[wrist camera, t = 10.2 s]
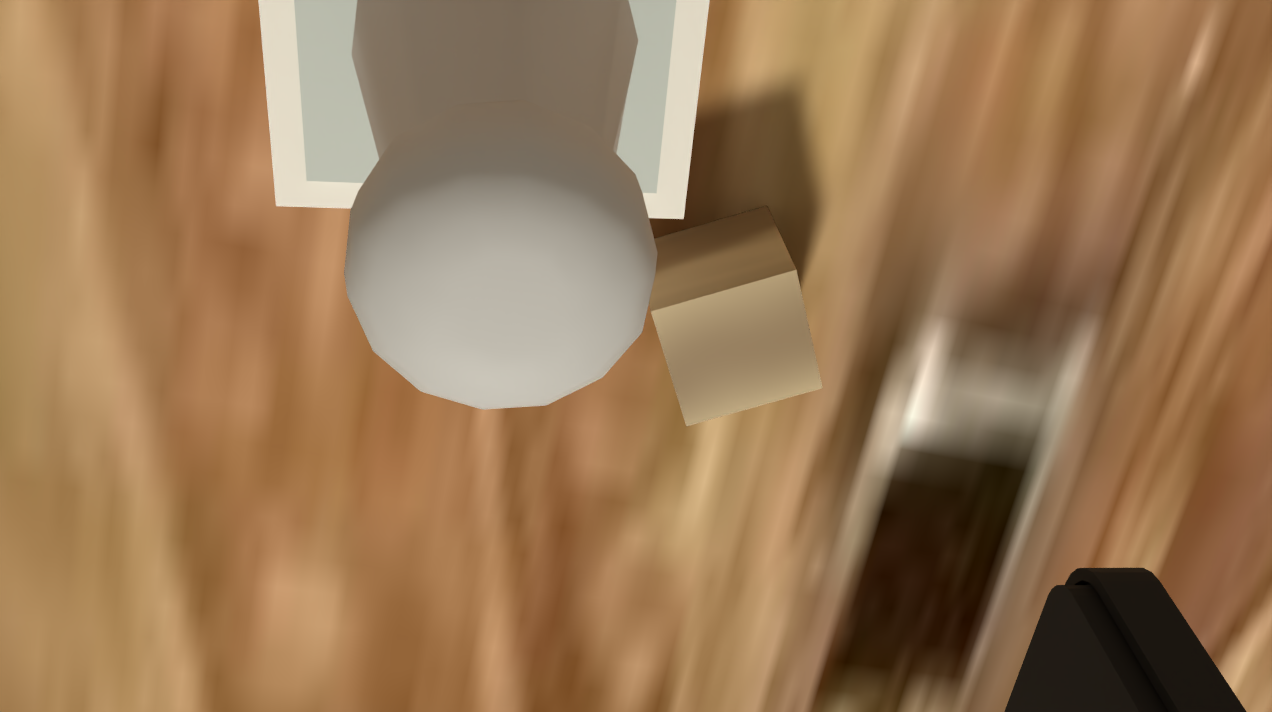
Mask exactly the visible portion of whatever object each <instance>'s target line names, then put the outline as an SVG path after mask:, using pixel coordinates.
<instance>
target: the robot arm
mask: <svg viewBox="0 0 1272 712" xmlns="http://www.w3.org/2000/svg"><path fill="white" fill-rule="evenodd" d="M1005 712H1246V710H1245V709H1244V707H1243V706H1242V704H1241V703H1240V701H1239V700H1238V698H1237V697H1236V695H1235V694H1234V692H1233V691H1232V689H1231V688H1230V686H1229V685H1228V683H1227V682H1226V680H1225V679H1224V677H1223V676H1222V674H1221V673H1220V671H1219V670H1218V668H1217V667H1216V665H1215V664H1214V662H1213V661H1212V659H1211V658H1210V656H1209V655H1208V653H1207V652H1206V650H1205V649H1204V647H1203V646H1202V644H1201V643H1200V641H1199V640H1198V638H1197V637H1196V635H1195V634H1194V632H1193V631H1192V629H1191V628H1190V626H1189V625H1188V623H1187V622H1186V620H1185V619H1184V617H1183V616H1182V614H1181V613H1180V611H1179V610H1178V608H1177V607H1176V605H1175V604H1174V602H1173V601H1172V599H1171V598H1170V596H1169V595H1168V593H1167V591H1166V590H1165V588H1164V587H1163V585H1162V584H1161V582H1160V581H1159V580H1158V579H1157V578H1156V577H1155V575H1154V574H1153V573H1152V572H1150V571H1148V570H1146V569H1144V568H1078V569H1076V570H1075V571H1074V572H1072V573H1071V574H1070V576H1069V578H1068V580H1067V582H1066V584H1065V585H1056V586H1055V587H1054V588H1053V589H1052V590H1051V591H1050V593H1049V595H1048V597H1047V600H1046V603H1045V605H1044V608H1043V611H1042V613H1041V616H1040V619H1039V621H1038V624H1037V627H1036V629H1035V632H1034V635H1033V637H1032V640H1031V643H1030V645H1029V648H1028V651H1027V653H1026V656H1025V659H1024V661H1023V664H1022V667H1021V669H1020V672H1019V675H1018V677H1017V680H1016V682H1015V685H1014V688H1013V690H1012V693H1011V696H1010V698H1009V701H1008V704H1007V706H1006V709H1005Z"/></svg>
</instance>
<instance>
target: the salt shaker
mask: <svg viewBox="0 0 1272 712" xmlns="http://www.w3.org/2000/svg"><path fill="white" fill-rule="evenodd" d="M637 45H638V37H637V33H636V29H635V25H634V21H633V17H632V12H631V8H630V4H629V0H357V8H356V17H355V26H354V35H353V45H352V54H351V55H352V59H353V63H354V66H355V70H356V74H357V78H358V81H359V85H360V89H361V93H362V96H363V100H364V104H365V108H366V111H367V115H368V119H369V123H370V126H371V130H372V134H373V138H374V141H375V145H376V149H377V153H378V156H379V161H378V162H377V164H376V165H375V167H374V168H373V170H372V171H371V173H370V174H369V176H368V177H367V179H366V180H365V182H364V183H363V185H362V186H361V188H360V189H359V191H358V193H357V195H356V198H355V200H354V203H353V205H352V208H351V211H350V221H349V230H348V240H347V250H346V260H345V270H344V275H345V282H346V288H347V295H348V298H349V300H350V302H351V304H352V306H353V308H354V311H355V313H356V315H357V317H358V319H359V321H360V323H361V326H362V328H363V330H364V332H365V334H366V336H367V339H368V341H369V343H370V345H371V347H372V349H373V351H374V352H375V353H376V354H377V355H378V356H380V357H381V358H382V359H383V360H384V361H386V362H387V363H388V364H389V365H390V366H391V367H393V368H394V369H395V370H396V371H397V372H399V373H400V374H401V375H402V376H403V377H404V378H406V379H407V380H408V381H409V382H410V383H411V384H413V385H414V386H415V387H416V388H417V389H419V390H420V391H421V392H424V393H428V394H431V395H435V396H438V397H442V398H445V399H448V400H452V401H455V402H459V403H462V404H466V405H469V406H472V407H476V408H479V409H497V408H512V407H528V406H543V405H548V404H550V403H552V402H554V401H556V400H558V399H560V398H562V397H564V396H566V395H568V394H570V393H572V392H574V391H576V390H578V389H580V388H582V387H584V386H586V385H589V384H591V383H593V382H595V381H597V380H599V379H601V378H602V377H603V376H604V375H605V374H606V373H607V372H608V371H609V369H610V368H611V367H612V366H613V365H614V364H615V363H616V362H617V360H618V359H619V358H620V357H621V356H622V355H623V354H624V352H625V351H626V350H627V349H628V348H629V347H630V346H631V344H632V343H633V342H634V341H635V340H636V339H637V338H638V336H639V335H640V334H641V333H642V330H643V326H644V321H645V317H646V313H647V308H648V304H649V300H650V295H651V291H652V287H653V282H654V278H655V272H656V262H657V253H658V252H657V248H656V244H655V241H654V237H653V233H652V229H651V225H650V221H649V217H648V213H647V209H646V205H645V201H644V197H643V193H642V190H641V188H640V185H639V182H638V180H637V177H636V174H635V173H634V172H633V171H632V170H631V169H630V168H629V167H628V166H627V165H626V164H625V163H624V162H623V160H622V159H621V158H620V157H619V156H618V155H617V148H618V143H619V137H620V131H621V126H622V120H623V114H624V109H625V103H626V98H627V93H628V88H629V83H630V78H631V74H632V69H633V64H634V59H635V54H636V50H637Z"/></svg>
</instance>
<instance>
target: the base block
mask: <svg viewBox="0 0 1272 712" xmlns="http://www.w3.org/2000/svg"><path fill="white" fill-rule="evenodd" d="M629 4H630V8H631V12H632V17H633V21H634V25H635V29H636V33H637V37H638V45H637V50H636V54H635V59H634V64H633V69H632V74H631V78H630V83H629V88H628V93H627V98H626V103H625V109H624V114H623V120H622V126H621V131H620V137H619V143H618V148H617V155H618V156H619V157H620V158H621V159H622V160H623V162H624V163H625V164H626V165H627V166H628V167H629V168H630V169H631V170H632V171H633V172H634V173H635V174H636V177H637V180H638V182H639V185H640V188H641V190H642V193H643V197H644V201H645V205H646V209H647V213H648V217H649V218H664V219H684V212H685V203H686V195H687V186H688V178H689V169H690V161H691V152H692V144H693V135H694V127H695V119H696V110H697V102H698V93H699V85H700V76H701V68H702V59H703V51H704V42H705V34H706V25H707V17H708V8H709V0H629ZM356 8H357V0H259V12H260V23H261V35H262V47H263V58H264V70H265V82H266V93H267V105H268V117H269V129H270V140H271V152H272V164H273V175H274V187H275V199H276V206H290V207H321V208H352V205H353V203H354V200H355V198H356V195H357V193H358V191H359V189H360V188H361V186H362V185H363V183H364V182H365V180H366V179H367V177H368V176H369V174H370V173H371V171H372V170H373V168H374V167H375V165H376V164H377V162H378V161H379V156H378V153H377V149H376V145H375V141H374V138H373V134H372V130H371V126H370V123H369V119H368V115H367V111H366V108H365V104H364V100H363V96H362V93H361V89H360V85H359V81H358V78H357V74H356V70H355V66H354V63H353V59H352V55H351V54H352V45H353V35H354V26H355V17H356Z"/></svg>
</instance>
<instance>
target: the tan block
mask: <svg viewBox="0 0 1272 712" xmlns="http://www.w3.org/2000/svg"><path fill="white" fill-rule="evenodd" d="M654 241H655V244H656V248H657V252H658V253H657V262H656V272H655V278H654V282H653V287H652V291H651V295H650V300H649V305H650V310H651V313H652V317H653V320H654V323H655V326H656V329H657V333H658V336H659V339H660V342H661V346H662V349H663V352H664V355H665V359H666V362H667V365H668V368H669V372H670V375H671V378H672V381H673V384H674V388H675V391H676V394H677V397H678V401H679V404H680V407H681V410H682V414H683V417H684V420H685V423H686V426H690V425H693V424H697V423H700V422H704V421H707V420H711V419H714V418H718V417H722V416H725V415H729V414H732V413H736V412H739V411H743V410H746V409H750V408H754V407H757V406H761V405H764V404H768V403H771V402H775V401H778V400H782V399H786V398H789V397H793V396H796V395H800V394H803V393H807V392H810V391H814V390H818V389H821V388H822V383H821V379H820V374H819V370H818V365H817V361H816V356H815V352H814V347H813V343H812V338H811V333H810V329H809V324H808V320H807V315H806V311H805V306H804V302H803V297H802V293H801V288H800V284H799V279H798V275H797V270H796V268H795V266H794V263H793V261H792V259H791V257H790V255H789V252H788V250H787V248H786V246H785V244H784V242H783V239H782V237H781V235H780V233H779V231H778V228H777V226H776V224H775V222H774V220H773V218H772V215H771V213H770V211H769V209H768V207H767V206H765V207H761V208H758V209H754V210H751V211H747V212H744V213H741V214H737V215H734V216H730V217H727V218H723V219H720V220H717V221H713V222H710V223H706V224H703V225H699V226H696V227H692V228H689V229H686V230H682V231H679V232H675V233H672V234H668V235H665V236H661V237H658V238H655V239H654Z"/></svg>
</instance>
